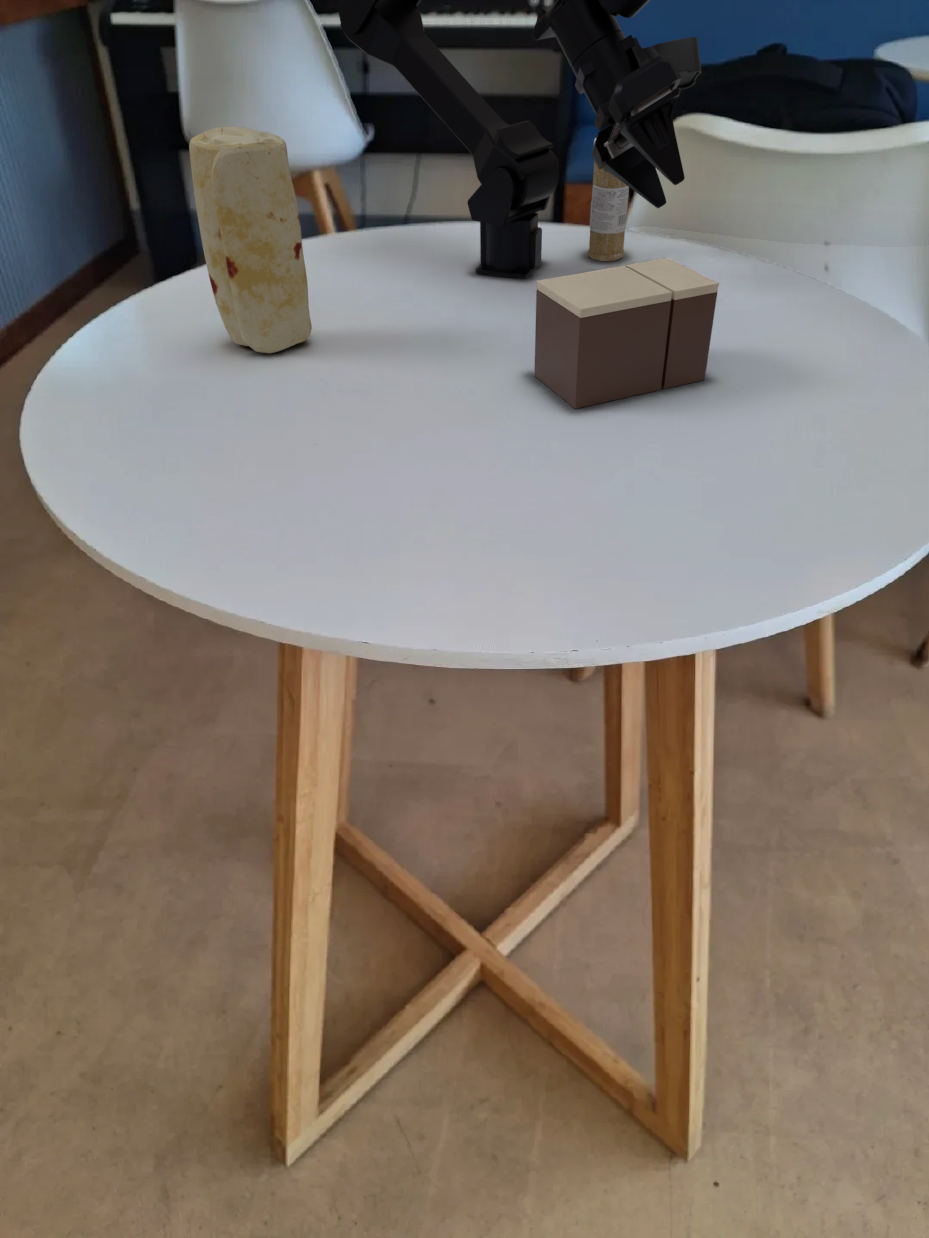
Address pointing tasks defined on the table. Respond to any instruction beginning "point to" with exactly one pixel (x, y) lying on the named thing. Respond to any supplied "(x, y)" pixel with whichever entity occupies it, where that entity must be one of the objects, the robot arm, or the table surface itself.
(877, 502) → the table surface
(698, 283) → the cake slice
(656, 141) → the robot arm
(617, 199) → the sprinkles bottle
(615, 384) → the box
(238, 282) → the food model
